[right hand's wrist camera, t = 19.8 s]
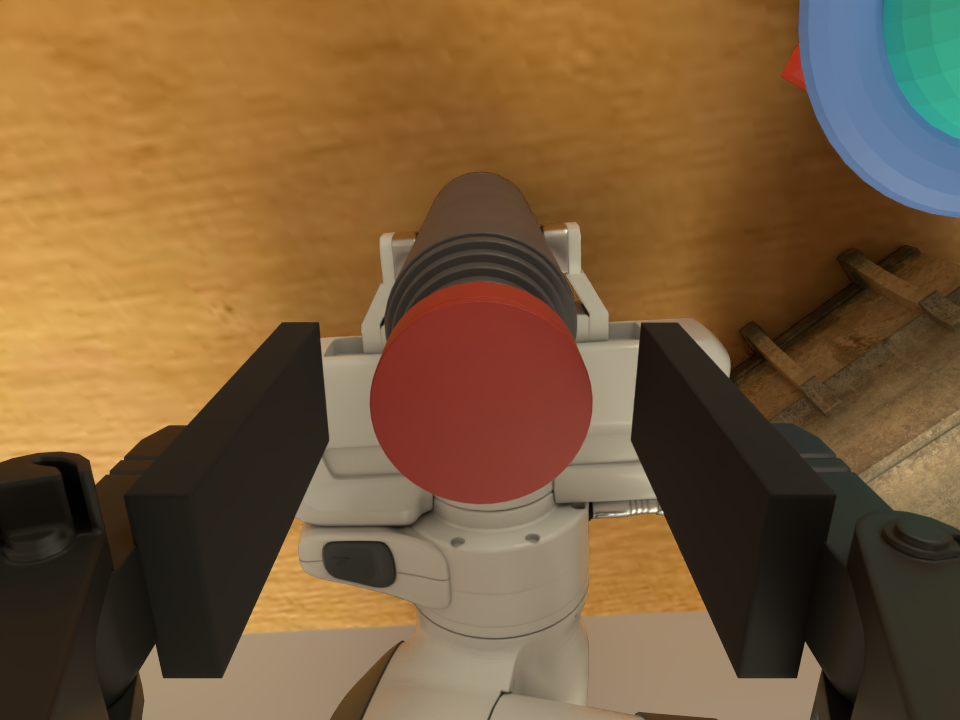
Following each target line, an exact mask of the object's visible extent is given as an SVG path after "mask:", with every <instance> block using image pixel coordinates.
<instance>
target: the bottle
mask: <svg viewBox="0 0 960 720" xmlns="http://www.w3.org/2000/svg"><path fill="white" fill-rule="evenodd" d="M470 282H491V283H500V284H504V285H508V286H512V287H515V288H518V289H521V290H523V291H526V292H528V293H530V294H531V295H533V296H535V297H537V298H539V299H540V300H541V301H543V302H544V303H546V304H547V305H548V306H549V307H550V308H552V309H553V310H554V311H555V312H556V313H557V314H558V315H559V316H560V318H561V319H562V320H563V321H564V323H565V324H566V325H567V327H568V329H569V330H570V332H571V334H572V335H573V337H574V340H576V334H577V313H576V306H575V302H574V298H573V295H572V292H571V290H570V287H569V285H568V283H567V281H566V279H565V277H564V275H563V273H562V271H561V269H560V267H559V265H558V263H557V261H556V259H555V257H554V255H553V253H552V251H551V249H550V247H549V245H548V243H547V241H546V239H545V237H544V235H543V233H542V231H541V229H540V227H539V225H538V223H537V221H536V219H535V217H534V215H533V213H532V211H531V209H530V207H529V205H528V203H527V201H526V199H525V197H524V196H523V194H522V193H521V192H520V190H519V189H518V188H517V187H516V186H515V185H514V184H513V183H511V182H510V181H509V180H507V179H505V178H503V177H501V176H499V175H496V174H492V173H487V172H474V173H468V174H465V175H462V176H460V177H458V178H456V179H454V180H452V181H451V182H449V183H448V184H447V185H446V186H445V187H444V188H443V189H442V190H441V191H440V193H439V194H438V196H437V197H436V199H435V201H434V203H433V205H432V207H431V209H430V211H429V213H428V215H427V217H426V219H425V221H424V223H423V225H422V227H421V229H420V231H419V234H418V236H417V238H416V240H415V242H414V244H413V246H412V248H411V250H410V252H409V254H408V256H407V258H406V260H405V262H404V264H403V266H402V268H401V270H400V272H399V274H398V277H397V279H396V281H395V283H394V285H393V287H392V289H391V291H390V294H389V297H388V300H387V305H386V310H385V323H384V326H385V337H386V342H387V340H388V338H389V336H390V334H391V332H392V330H393V329H394V327H395V326H396V324H397V323H398V322H399V320H400V319H401V318H402V317H403V316H404V315H405V314H406V312H407V311H408V310H409V309H411V308H412V307H413V306H414V305H415V304H417V303H418V302H419V301H421V300H422V299H424V298H426V297H427V296H429V295H430V294H433V293H435V292H437V291H439V290H441V289H444V288H447V287H451V286H454V285H458V284H464V283H470Z"/></svg>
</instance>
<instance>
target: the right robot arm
mask: <svg viewBox="0 0 960 720" xmlns="http://www.w3.org/2000/svg"><path fill="white" fill-rule="evenodd" d="M328 443H329V430H328V418H327V407H326V396H325V385H324V373H323V362H322V351H321V340H320V329H319V322H282V323H281V324H280V325H279V326H278V327H277V329H276V330H275V331H274V332H273V333H272V334H271V335H270V336H269V337H268V338H267V339H266V341H265V342H264V343H263V344H262V345H261V346H260V347H259V348H258V349H257V350H256V351H255V352H254V354H253V355H252V356H251V357H250V358H249V359H248V360H247V361H246V362H245V363H244V364H243V365H242V367H241V368H240V369H239V370H238V371H237V372H236V373H235V374H234V375H233V376H232V377H231V379H230V380H229V381H228V382H227V383H226V384H225V385H224V386H223V387H222V388H221V389H220V390H219V392H218V393H217V394H216V395H215V396H214V397H213V398H212V399H211V400H210V401H209V402H208V403H207V405H206V406H205V407H204V408H203V409H202V410H201V411H200V412H199V413H198V414H197V415H196V417H195V418H194V419H193V420H192V421H191V422H190V423H189V424H188V425H169V426H167V427H165V428H163V429H161V430H159V431H157V432H156V433H154V434H152V435H150V436H148V437H146V438H144V439H142V440H141V441H140V442H139V443H138V444H137V445H136V446H135V447H134V448H133V449H132V450H131V451H130V452H129V453H128V454H127V455H126V456H125V457H124V460H121V461H120V462H119V463H118V464H116V465H115V466H114V467H113V468H112V469H111V470H110V475H105V476H104V477H103V478H102V479H101V480H100V481H99V482H98V483H97V484H96V485H95V482H94V478H93V474H92V470H91V465H90V461H89V460H88V459H86V458H85V457H83V456H81V455H80V454H75V453H68V452H46V453H36V454H31V455H26V456H21V457H17V458H12V459H9V460H6V461H4V462H1V463H0V720H142V713H143V706H144V695H143V688H142V684H141V679H140V675H139V670H140V668H141V667H142V665H143V663H144V662H145V660H146V658H147V657H148V655H149V653H150V652H151V650H152V648H153V647H154V645H155V644H156V648H157V652H158V657H159V661H160V666H161V671H162V675H163V678H222V677H223V675H224V673H225V670H226V668H227V666H228V664H229V662H230V659H231V657H232V655H233V653H234V651H235V648H236V646H237V644H238V642H239V639H240V637H241V635H242V633H243V631H244V628H245V626H246V624H247V622H248V620H249V617H250V615H251V613H252V611H253V609H254V606H255V604H256V602H257V600H258V597H259V595H260V593H261V591H262V589H263V586H264V584H265V582H266V580H267V578H268V575H269V573H270V571H271V569H272V567H273V564H274V562H275V560H276V558H277V555H278V553H279V551H280V549H281V547H282V544H283V542H284V540H285V538H286V536H287V533H288V531H289V529H290V527H291V524H292V522H293V520H294V518H295V516H296V513H297V511H298V509H299V507H300V505H301V502H302V500H303V498H304V496H305V494H306V491H307V489H308V487H309V485H310V482H311V480H312V478H313V476H314V474H315V471H316V469H317V467H318V465H319V463H320V460H321V458H322V456H323V454H324V452H325V449H326V447H327V445H328ZM631 443H632V445H633V447H634V449H635V452H636V454H637V456H638V458H639V460H640V463H641V465H642V467H643V469H644V471H645V474H646V476H647V478H648V480H649V482H650V485H651V487H652V489H653V491H654V494H655V496H656V498H657V500H658V502H659V505H660V507H661V509H662V511H663V513H664V516H665V518H666V520H667V522H668V524H669V527H670V529H671V531H672V533H673V536H674V538H675V540H676V542H677V544H678V547H679V549H680V551H681V553H682V555H683V558H684V560H685V562H686V564H687V567H688V569H689V571H690V573H691V575H692V578H693V580H694V582H695V584H696V586H697V589H698V591H699V593H700V595H701V597H702V600H703V602H704V604H705V606H706V609H707V611H708V613H709V615H710V617H711V620H712V622H713V624H714V626H715V628H716V631H717V633H718V635H719V637H720V639H721V642H722V644H723V646H724V648H725V650H726V653H727V655H728V657H729V659H730V662H731V664H732V666H733V668H734V670H735V673H736V675H737V677H738V678H797V675H798V671H799V666H800V662H801V657H802V652H803V648H804V643H805V642H806V643H807V645H808V647H809V648H810V650H811V652H812V653H813V655H814V656H815V658H816V660H817V661H818V663H819V665H820V666H821V668H822V671H821V675H820V679H819V683H818V688H817V692H816V696H815V701H814V705H813V709H812V713H811V718H810V720H960V530H958V529H957V528H955V527H953V526H950V525H948V524H946V523H943V522H941V521H938V520H936V519H934V518H931V517H927V516H923V515H919V514H915V513H911V512H907V511H895V510H893V509H892V508H891V507H890V506H889V505H888V504H887V503H886V502H885V501H884V500H883V499H882V498H880V497H879V496H878V495H877V494H876V493H875V492H874V491H873V490H872V489H871V488H870V487H869V486H868V485H867V484H866V483H865V482H864V481H863V480H862V479H861V478H860V477H859V476H858V475H857V474H856V473H855V472H851V468H850V467H849V466H848V465H847V464H846V463H845V462H844V461H842V460H841V459H840V458H837V457H836V454H835V453H834V452H833V451H832V450H831V449H830V448H829V447H828V446H827V445H826V444H825V443H824V442H823V441H822V440H821V439H820V438H819V437H817V436H815V435H813V434H811V433H809V432H807V431H805V430H804V429H802V428H800V427H798V426H796V425H794V424H792V423H770V422H769V421H768V420H767V419H766V418H765V417H764V415H763V414H762V413H761V412H760V411H759V410H758V409H757V408H756V407H755V406H754V405H753V403H752V402H751V401H750V400H749V399H748V398H747V397H746V396H745V395H744V394H743V393H742V392H741V390H740V389H739V388H738V387H737V386H736V385H735V384H734V383H733V382H732V381H731V380H730V379H729V377H728V376H727V375H726V374H725V373H724V372H723V371H722V370H721V369H720V368H719V367H718V365H717V364H716V363H715V362H714V361H713V360H712V359H711V358H710V357H709V356H708V355H707V354H706V352H705V351H704V350H703V349H702V348H701V347H700V346H699V345H698V344H697V343H696V342H695V341H694V339H693V338H692V337H691V336H690V335H689V334H688V333H687V332H686V331H685V330H684V329H683V327H682V326H681V325H680V324H679V323H678V322H641V329H640V340H639V351H638V362H637V373H636V385H635V396H634V407H633V418H632V430H631Z"/></svg>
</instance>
